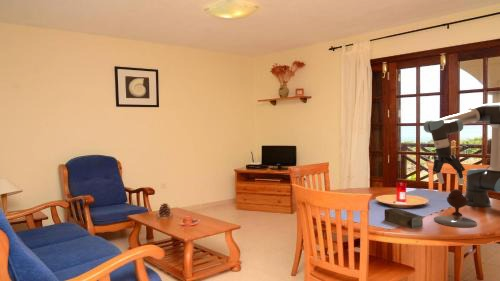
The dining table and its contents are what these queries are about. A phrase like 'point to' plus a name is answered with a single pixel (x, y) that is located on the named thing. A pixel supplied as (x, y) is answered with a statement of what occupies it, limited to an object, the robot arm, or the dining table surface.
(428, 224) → the dining table surface
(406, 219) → the dark grey rectangular block
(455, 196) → the ice cream bowl
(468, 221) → the disc
